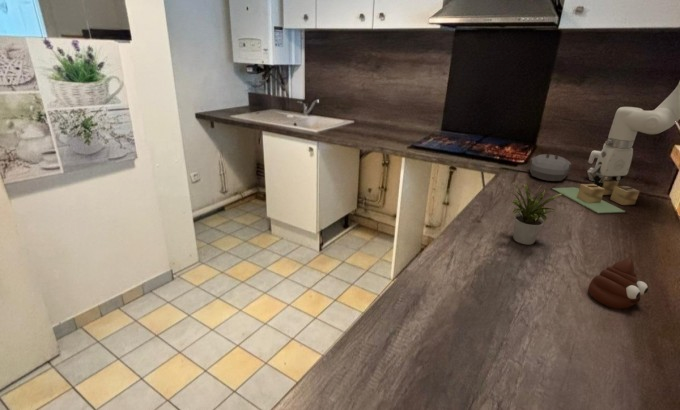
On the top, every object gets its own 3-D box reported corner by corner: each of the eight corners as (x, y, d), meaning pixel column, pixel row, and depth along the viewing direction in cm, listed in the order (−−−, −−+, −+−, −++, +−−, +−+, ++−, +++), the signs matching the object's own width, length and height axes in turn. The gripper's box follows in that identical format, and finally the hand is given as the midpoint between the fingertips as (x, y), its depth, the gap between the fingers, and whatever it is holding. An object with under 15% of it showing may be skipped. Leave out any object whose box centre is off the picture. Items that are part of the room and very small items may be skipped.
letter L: (603, 189, 135) (607, 176, 133) (614, 194, 130) (619, 181, 128) (591, 190, 134) (595, 177, 132) (602, 195, 130) (606, 181, 128)
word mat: (575, 188, 136) (576, 187, 136) (625, 212, 116) (625, 211, 116) (551, 189, 135) (552, 188, 134) (597, 213, 115) (598, 212, 115)
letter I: (589, 196, 127) (593, 183, 125) (600, 202, 122) (605, 188, 120) (576, 197, 126) (580, 183, 124) (587, 203, 122) (592, 188, 120)
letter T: (622, 199, 127) (627, 185, 125) (634, 204, 122) (640, 190, 120) (609, 199, 126) (614, 185, 124) (621, 205, 122) (627, 191, 119)
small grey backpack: (529, 166, 161) (524, 178, 145) (534, 148, 157) (529, 158, 142) (568, 172, 154) (567, 186, 138) (573, 153, 150) (573, 165, 135)
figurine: (585, 175, 151) (596, 140, 145) (612, 180, 145) (624, 144, 139) (581, 179, 146) (592, 143, 140) (609, 185, 140) (621, 147, 134)
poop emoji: (604, 280, 81) (617, 244, 77) (648, 302, 74) (665, 264, 70) (578, 292, 76) (591, 255, 73) (622, 317, 70) (639, 277, 66)
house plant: (480, 236, 99) (492, 180, 92) (505, 222, 107) (517, 170, 101) (533, 258, 89) (550, 197, 82) (556, 241, 97) (572, 185, 91)
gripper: (606, 146, 120) (589, 196, 128) (650, 145, 123) (632, 194, 130) (589, 141, 127) (574, 188, 135) (631, 140, 129) (614, 187, 137)
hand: (603, 191), depth 132 cm, fingers open, 5 cm apart
